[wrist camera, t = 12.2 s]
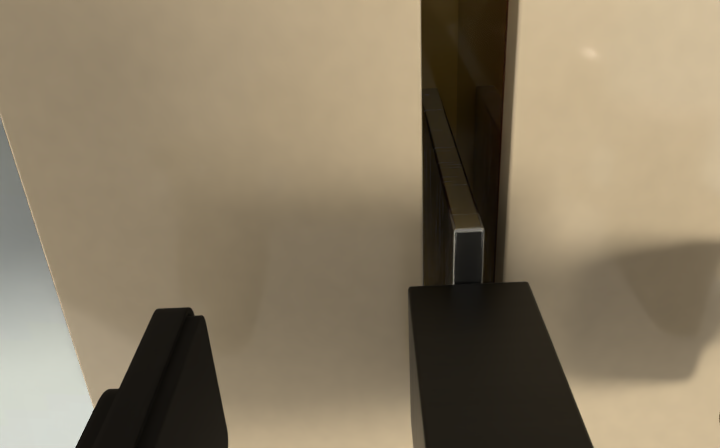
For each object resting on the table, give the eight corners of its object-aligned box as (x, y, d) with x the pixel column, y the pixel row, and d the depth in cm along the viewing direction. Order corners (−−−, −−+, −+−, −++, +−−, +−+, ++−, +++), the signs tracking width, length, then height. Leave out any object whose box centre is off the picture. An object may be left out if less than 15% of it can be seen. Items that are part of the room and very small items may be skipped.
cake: (71, -143, 15) (-140, -143, 9) (790, -187, 15) (1119, -220, 8) (192, 394, 23) (126, 603, 16) (669, 375, 22) (794, 583, 16)
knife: (389, 89, 17) (438, 493, 6) (467, 85, 17) (654, 485, 6) (394, 256, 20) (437, 761, 9) (463, 253, 20) (593, 757, 9)
